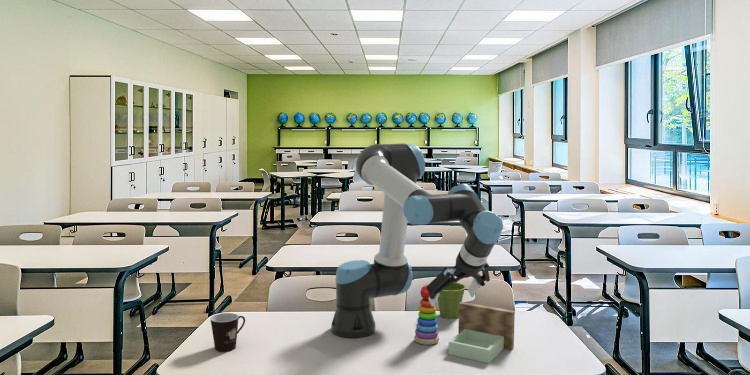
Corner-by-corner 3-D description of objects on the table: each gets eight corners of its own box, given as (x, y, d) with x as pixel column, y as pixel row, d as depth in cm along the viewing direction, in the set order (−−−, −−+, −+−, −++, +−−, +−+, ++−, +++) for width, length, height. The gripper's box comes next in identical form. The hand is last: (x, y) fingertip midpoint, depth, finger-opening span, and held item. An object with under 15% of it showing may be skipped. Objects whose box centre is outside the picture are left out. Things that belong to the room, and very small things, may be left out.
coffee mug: (214, 355, 174) (213, 323, 173) (208, 345, 182) (207, 315, 181) (252, 348, 179) (251, 317, 178) (244, 339, 187) (244, 310, 186)
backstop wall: (458, 338, 188) (458, 303, 186) (460, 336, 189) (461, 301, 188) (511, 349, 178) (512, 312, 177) (513, 347, 180) (514, 310, 179)
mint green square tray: (448, 354, 175) (448, 341, 174) (464, 340, 186) (465, 328, 185) (489, 363, 168) (489, 350, 168) (503, 348, 179) (503, 336, 179)
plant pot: (447, 308, 219) (447, 279, 218) (472, 316, 210) (472, 286, 209) (426, 315, 211) (426, 285, 210) (451, 323, 202) (451, 292, 201)
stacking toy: (432, 347, 180) (432, 290, 178) (410, 342, 184) (410, 286, 182) (443, 339, 187) (443, 284, 185) (421, 335, 191) (421, 280, 189)
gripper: (438, 276, 150) (419, 317, 165) (516, 259, 159) (491, 299, 174) (426, 253, 154) (409, 295, 169) (504, 238, 163) (480, 279, 178)
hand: (451, 298), depth 172 cm, fingers open, 13 cm apart
